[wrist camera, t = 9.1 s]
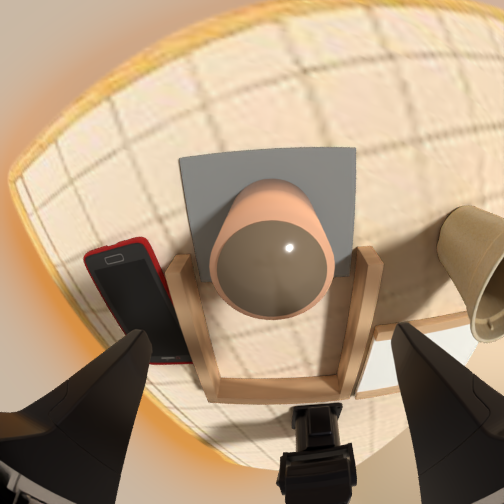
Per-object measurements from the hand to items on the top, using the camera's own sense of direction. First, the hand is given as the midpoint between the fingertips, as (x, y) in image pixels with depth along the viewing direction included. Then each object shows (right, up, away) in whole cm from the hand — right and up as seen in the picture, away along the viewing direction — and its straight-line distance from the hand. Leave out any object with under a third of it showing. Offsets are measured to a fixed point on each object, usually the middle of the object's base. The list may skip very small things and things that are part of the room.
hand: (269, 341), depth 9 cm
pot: (+1, +5, +10) cm, 12 cm away
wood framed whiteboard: (+20, -9, +16) cm, 27 cm away
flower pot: (+18, +4, +10) cm, 21 cm away
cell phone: (-11, -2, +16) cm, 20 cm away
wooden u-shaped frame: (+2, -4, +15) cm, 16 cm away
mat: (+1, +5, +11) cm, 12 cm away
